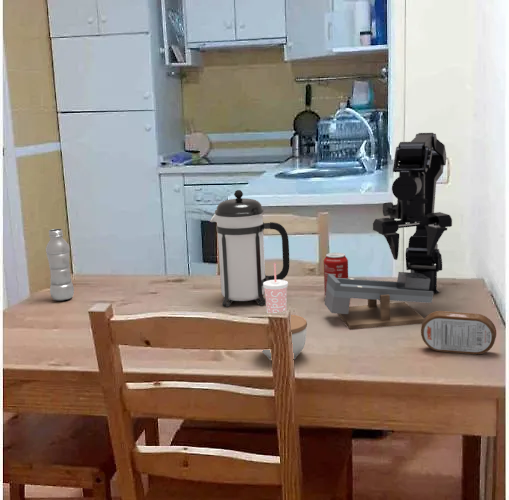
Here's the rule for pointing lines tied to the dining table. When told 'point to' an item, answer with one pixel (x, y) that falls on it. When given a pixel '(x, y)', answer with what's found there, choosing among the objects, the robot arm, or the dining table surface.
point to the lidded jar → (295, 335)
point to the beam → (367, 292)
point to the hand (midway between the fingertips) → (412, 257)
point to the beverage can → (335, 266)
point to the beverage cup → (276, 294)
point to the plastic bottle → (59, 266)
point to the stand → (380, 314)
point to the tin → (458, 332)
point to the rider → (413, 281)
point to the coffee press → (244, 249)
